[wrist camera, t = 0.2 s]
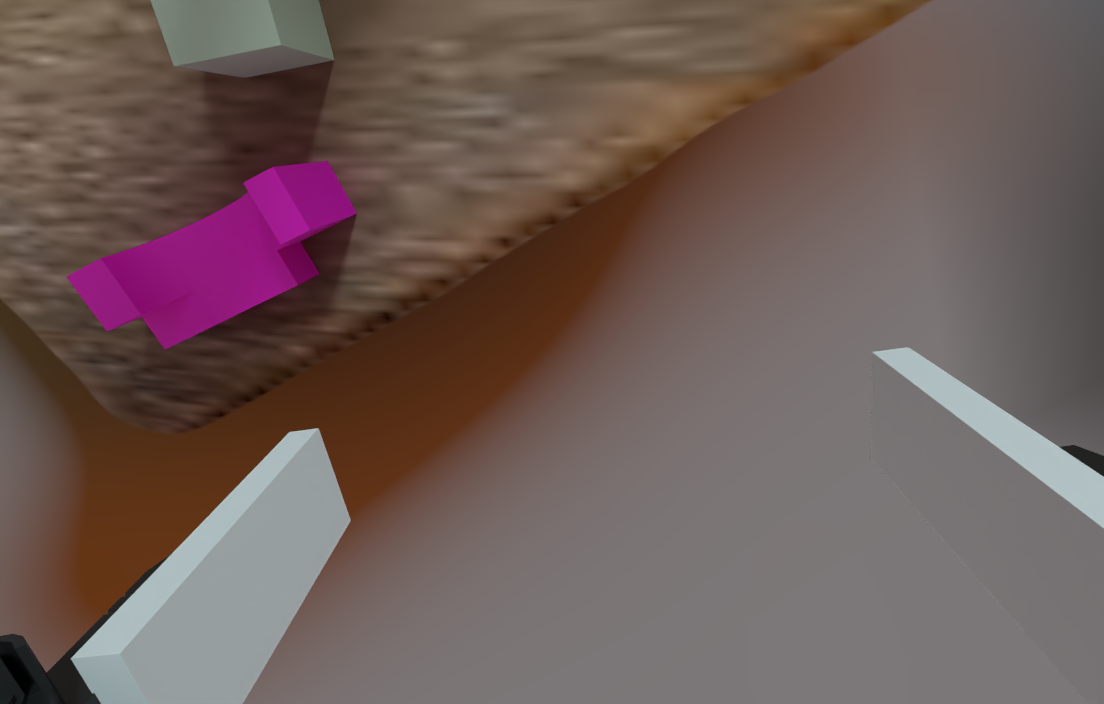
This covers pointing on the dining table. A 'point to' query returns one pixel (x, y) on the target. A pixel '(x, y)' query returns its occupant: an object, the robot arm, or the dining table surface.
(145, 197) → the dining table surface
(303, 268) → the toy block
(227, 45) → the sage block
